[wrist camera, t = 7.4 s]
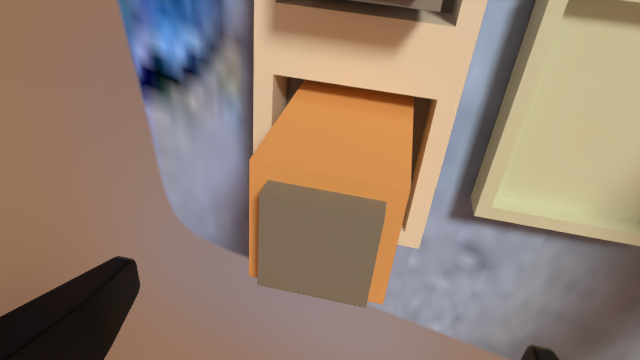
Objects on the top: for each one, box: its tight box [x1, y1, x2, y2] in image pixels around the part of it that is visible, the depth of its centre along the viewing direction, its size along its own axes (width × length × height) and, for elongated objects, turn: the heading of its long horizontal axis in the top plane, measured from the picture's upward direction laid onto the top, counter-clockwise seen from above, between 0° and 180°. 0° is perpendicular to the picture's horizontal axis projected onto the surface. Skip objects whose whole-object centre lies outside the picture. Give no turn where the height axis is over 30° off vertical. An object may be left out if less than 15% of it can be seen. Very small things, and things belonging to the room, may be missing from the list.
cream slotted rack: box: [253, 0, 488, 249], centre depth 15 cm, size 8×16×6 cm, turn 175°
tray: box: [471, 0, 640, 246], centre depth 17 cm, size 8×10×2 cm
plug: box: [249, 79, 414, 308], centre depth 16 cm, size 4×4×8 cm
